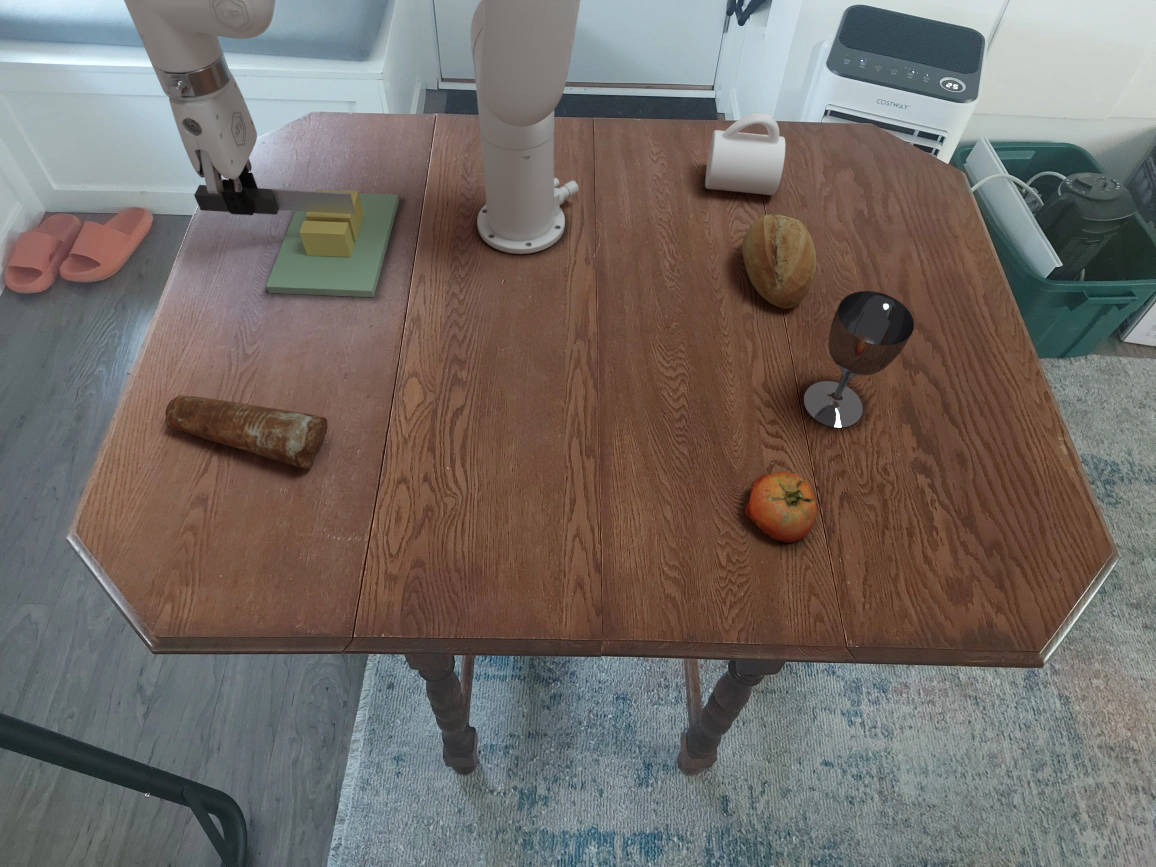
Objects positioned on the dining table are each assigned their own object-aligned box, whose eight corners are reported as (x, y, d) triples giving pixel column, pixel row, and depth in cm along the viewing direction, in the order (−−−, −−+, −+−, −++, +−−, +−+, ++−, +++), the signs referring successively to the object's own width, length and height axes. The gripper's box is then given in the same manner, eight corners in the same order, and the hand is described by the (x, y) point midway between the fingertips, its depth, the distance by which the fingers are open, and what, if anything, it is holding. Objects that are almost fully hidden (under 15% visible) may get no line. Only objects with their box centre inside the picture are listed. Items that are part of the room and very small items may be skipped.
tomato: (769, 555, 78) (766, 488, 77) (732, 535, 84) (729, 473, 83) (832, 539, 81) (831, 473, 79) (792, 521, 87) (789, 460, 86)
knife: (200, 210, 99) (191, 190, 97) (205, 199, 101) (197, 179, 98) (353, 219, 100) (348, 199, 97) (356, 208, 101) (351, 188, 98)
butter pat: (311, 243, 104) (303, 220, 101) (354, 245, 104) (348, 222, 101) (307, 255, 103) (298, 232, 100) (351, 257, 103) (344, 234, 100)
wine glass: (869, 388, 93) (917, 301, 81) (862, 438, 89) (911, 354, 77) (805, 371, 95) (842, 283, 82) (795, 419, 90) (832, 333, 78)
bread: (313, 480, 84) (299, 453, 79) (163, 436, 87) (141, 407, 82) (340, 436, 87) (328, 407, 83) (195, 395, 90) (176, 365, 86)
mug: (705, 166, 119) (719, 94, 109) (771, 173, 118) (791, 101, 108) (704, 199, 114) (718, 127, 104) (773, 206, 113) (793, 134, 103)
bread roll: (745, 316, 100) (759, 270, 93) (729, 240, 109) (741, 194, 102) (817, 316, 100) (835, 270, 94) (795, 240, 109) (811, 194, 102)
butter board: (304, 197, 112) (295, 167, 108) (399, 201, 112) (393, 171, 108) (268, 293, 100) (255, 263, 96) (373, 297, 100) (365, 268, 96)
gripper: (203, 113, 80) (257, 248, 95) (246, 36, 89) (289, 170, 104) (132, 109, 80) (197, 245, 95) (183, 33, 89) (235, 167, 104)
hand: (245, 205), depth 100 cm, fingers closed on knife, 2 cm apart
